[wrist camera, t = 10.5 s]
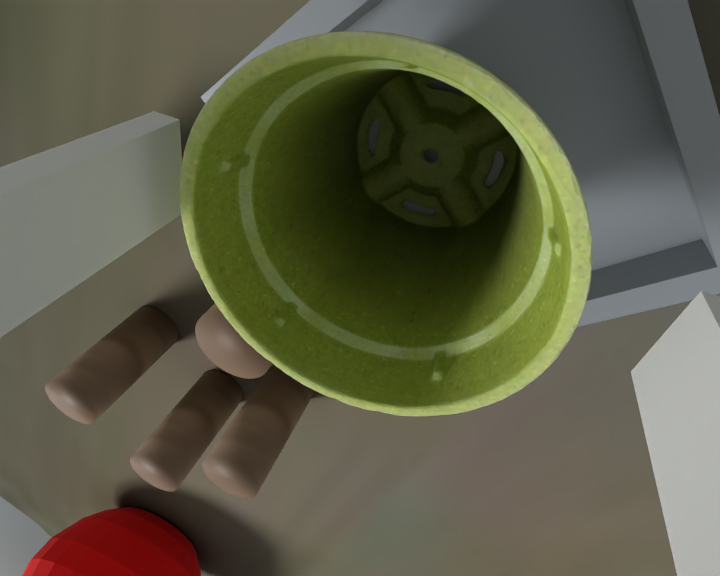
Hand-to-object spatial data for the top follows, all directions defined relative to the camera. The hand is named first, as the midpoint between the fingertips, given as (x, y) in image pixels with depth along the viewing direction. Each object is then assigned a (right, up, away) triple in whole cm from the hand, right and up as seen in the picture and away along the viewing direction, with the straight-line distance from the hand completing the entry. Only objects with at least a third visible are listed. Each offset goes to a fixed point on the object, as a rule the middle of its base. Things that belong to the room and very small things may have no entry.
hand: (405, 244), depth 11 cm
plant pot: (+2, +4, +5) cm, 7 cm away
